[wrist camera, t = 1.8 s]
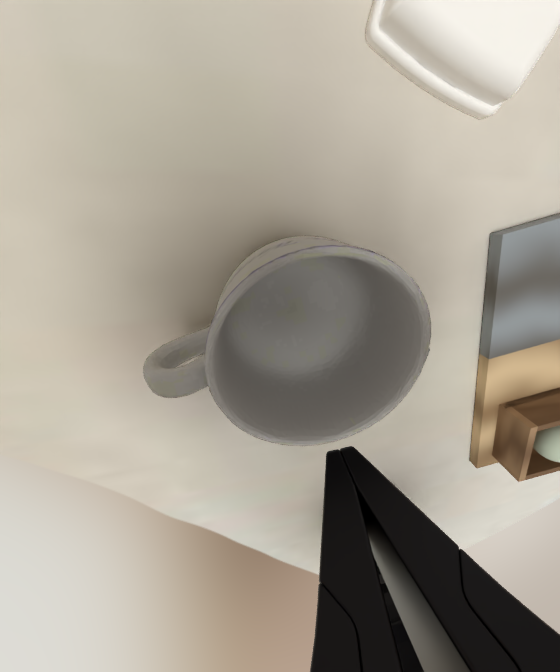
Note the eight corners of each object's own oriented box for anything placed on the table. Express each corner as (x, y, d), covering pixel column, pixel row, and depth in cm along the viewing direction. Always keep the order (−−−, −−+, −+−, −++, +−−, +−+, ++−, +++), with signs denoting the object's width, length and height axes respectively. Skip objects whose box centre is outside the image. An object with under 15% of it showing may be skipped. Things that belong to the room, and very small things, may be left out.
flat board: (558, 435, 29) (568, 442, 28) (469, 460, 29) (476, 468, 28) (630, 192, 18) (650, 191, 17) (490, 233, 18) (502, 234, 17)
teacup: (381, 237, 18) (473, 255, 11) (350, 374, 22) (400, 451, 15) (163, 220, 16) (94, 227, 9) (178, 373, 20) (140, 461, 13)
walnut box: (557, 436, 27) (591, 461, 25) (491, 455, 27) (518, 481, 25) (573, 383, 24) (614, 404, 21) (499, 404, 24) (530, 428, 22)
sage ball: (551, 434, 26) (594, 465, 23) (515, 443, 26) (553, 477, 23) (558, 406, 24) (606, 436, 21) (520, 417, 24) (562, 448, 21)
